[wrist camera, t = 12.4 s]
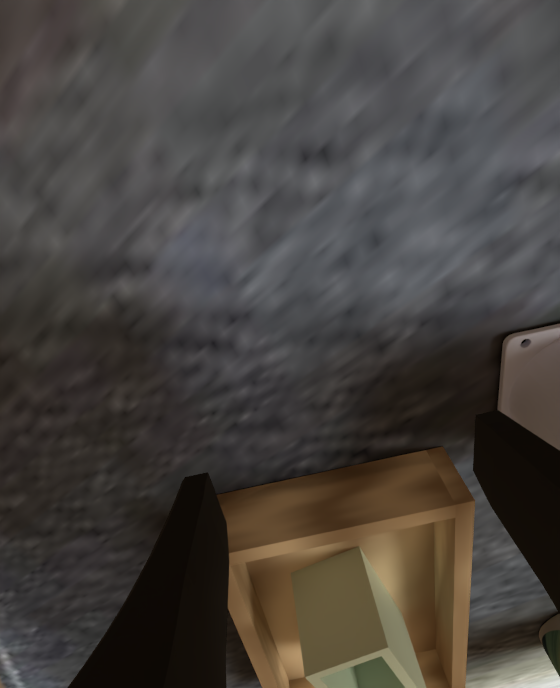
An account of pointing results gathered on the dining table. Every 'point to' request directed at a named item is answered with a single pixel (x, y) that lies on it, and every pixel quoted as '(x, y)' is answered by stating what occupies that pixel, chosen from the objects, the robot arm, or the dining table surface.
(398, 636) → the small crate
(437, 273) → the dining table surface
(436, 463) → the pine crate
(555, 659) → the lotion bottle
